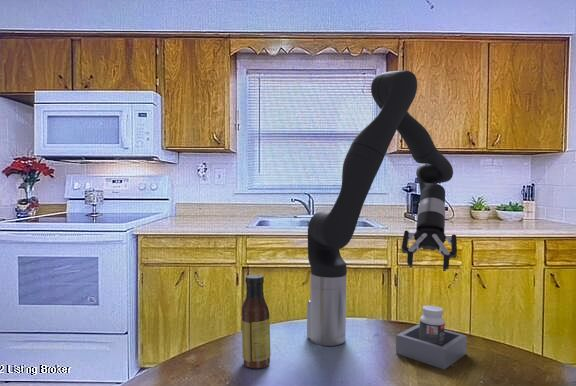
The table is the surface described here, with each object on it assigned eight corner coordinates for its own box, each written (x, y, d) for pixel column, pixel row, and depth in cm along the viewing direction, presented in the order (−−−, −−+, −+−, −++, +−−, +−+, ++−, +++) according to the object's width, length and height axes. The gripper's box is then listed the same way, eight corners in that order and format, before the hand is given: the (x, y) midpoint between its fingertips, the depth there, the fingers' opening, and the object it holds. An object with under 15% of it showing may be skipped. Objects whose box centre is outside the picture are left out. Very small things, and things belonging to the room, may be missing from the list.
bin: (395, 353, 102) (396, 334, 102) (419, 340, 111) (420, 323, 111) (444, 369, 94) (445, 349, 94) (466, 354, 103) (466, 335, 103)
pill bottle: (444, 355, 99) (446, 312, 99) (419, 352, 101) (421, 310, 100) (441, 346, 105) (443, 306, 105) (417, 343, 106) (419, 303, 106)
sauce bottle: (274, 360, 98) (275, 274, 97) (264, 372, 92) (265, 280, 91) (248, 356, 100) (249, 271, 99) (236, 367, 94) (237, 277, 93)
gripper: (405, 208, 122) (399, 258, 113) (458, 211, 117) (457, 264, 108) (405, 222, 128) (400, 271, 119) (457, 226, 123) (455, 277, 114)
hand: (427, 268), depth 113 cm, fingers open, 8 cm apart
